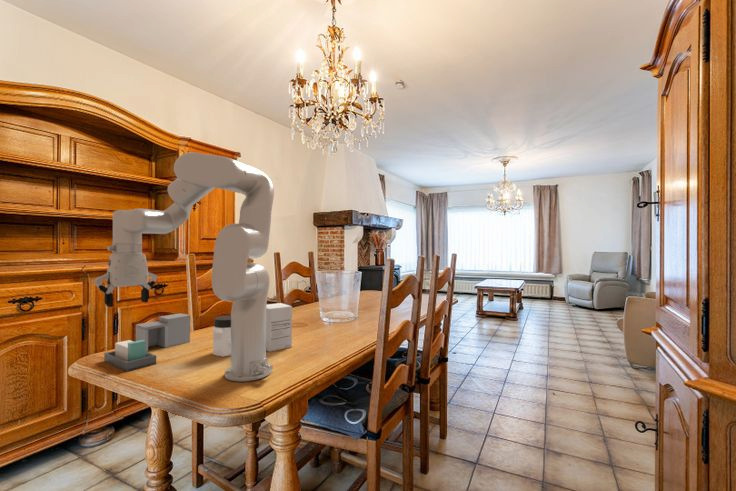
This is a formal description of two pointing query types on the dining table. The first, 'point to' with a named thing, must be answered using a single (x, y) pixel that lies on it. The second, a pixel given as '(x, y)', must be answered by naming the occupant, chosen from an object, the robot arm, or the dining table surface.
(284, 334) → the supplement box
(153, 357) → the tray
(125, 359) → the teal-capped white block
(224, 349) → the jar
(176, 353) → the dining table surface
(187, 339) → the bay
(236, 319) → the robot arm
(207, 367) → the dining table surface
